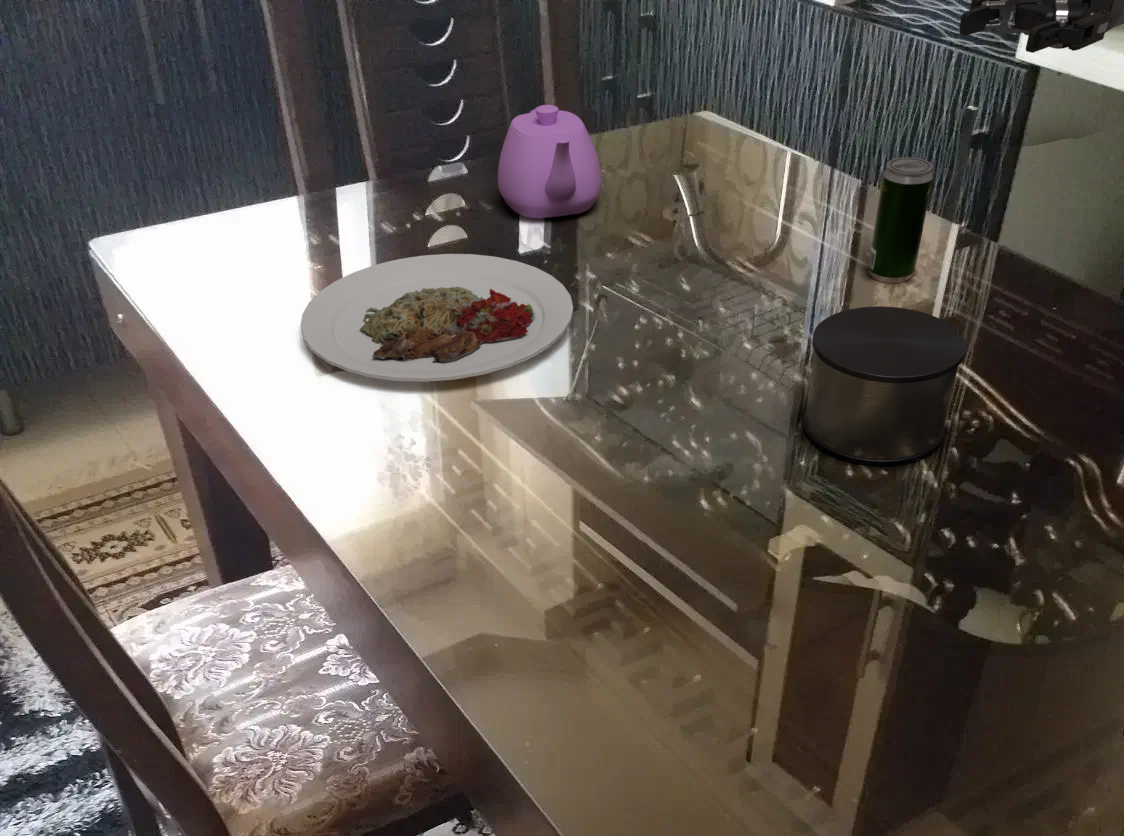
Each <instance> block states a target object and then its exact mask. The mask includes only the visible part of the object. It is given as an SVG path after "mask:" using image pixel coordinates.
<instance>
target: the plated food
mask: <svg viewBox="0 0 1124 836" xmlns="http://www.w3.org/2000/svg"><path fill="white" fill-rule="evenodd" d="M573 314H574V306H573V301H572V296H571V294H570V293H569V291H568V290H567V288H566V287H565V286H564V284H563V283H562V282H560V281H559V280H558V279H557V278H555V277H554V276H553V275H551V274H550V273H547V272H546V271H543V270H542V269H540V268H538V267H535V266H533V265H530V264H527V263H524V262H520V261H517V260H513V259H510V258H509V259H508V258H504V257H500V256H499V257H498V256H493V255H492V256H491V255H483V254H473V253H465V254H464V253H442V254H426V255H424V254H423V255H418V256H417V255H416V256H411V257H404V258H398V259H394V260H390V261H385V262H382V263H377V264H374V265H371V266H367V267H365V268H362V269H359V270H355V271H354V272H352V273H349V274H347V275H345V276H343V277H341V278H339V279H337V280H335V281H333V282H332V283H330V284H329V285H327V286H326V287H325V288H323V289H321V290H320V291H319V292H318V293H317V294H316V295H315V296H314V297H313V298H312V299H310V300H309V302H308V303H307V306H306V307H305V308H304V310H303V312H302V315H301V320H300V330H301V334H302V337H303V341H304V343H305V344H306V345H307V347H308V349H310V351H311V352H312V353H313V354H314V355H315V356H317V357H319V358H320V359H321V360H323V361H324V362H325V363H327V364H329V365H330V366H335V367H336V368H339V369H341V370H343V371H346V372H348V373H352V374H357V375H359V376H364V377H367V378H373V379H379V380H380V379H381V380H386V381H396V382H422V383H423V382H425V383H426V382H441V381H452V380H453V381H455V380H458V379H460V380H461V379H467V378H472V377H476V376H483V375H487V374H491V373H494V372H497V371H501V370H504V369H508V368H511V367H514V366H516V365H518V364H521V363H523V362H525V361H528V360H530V359H532V358H534V357H535V356H538V355H539V354H541V353H542V352H544V351H545V350H548V349H549V348H550V347H552V346H553V345H554V344H555V343H556V342H557V341H559V340H560V339H561V337H563V336H564V334H565V332H566V331H567V329H568V328H569V326H570V325H571V323H572V319H573Z"/></svg>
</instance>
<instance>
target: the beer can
mask: <svg viewBox="0 0 1124 836" xmlns="http://www.w3.org/2000/svg"><path fill="white" fill-rule="evenodd" d="M933 179H934V174H933V164H932V162H930V161H928V160H926V159H923V158H919V157H908V156H907V157H897V158H893V159H891V160H889V161H887V162H886V168H885V169H884V171H883V174H882V180H881V185H880V193H879V197H878V203H877V210H876V216H875V221H874V228H873V235H872V241H871V247H870V253H869V258H868V264H867V265H868V266H867V269H868V274H869V275H870V277H871V278H872V279H874V280H875V281H878V282H881V283H885V284H900V283H905V282H906V281H909V280H910V279H911V278H912V277H913V275H914V273H915V272H916V267H917V261H918V258H919V257H918V256H919V251H920V246H921V241H922V237H923V231H924V225H925V220H926V216H927V210H928V205H929V199H930V194H931V189H932V184H933Z"/></svg>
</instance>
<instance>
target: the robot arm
mask: <svg viewBox="0 0 1124 836" xmlns="http://www.w3.org/2000/svg"><path fill="white" fill-rule="evenodd" d="M1011 13H1013V24H1008V23H1009V20H1010V15H1011ZM1122 25H1124V0H971V2H970V8H969V10H966V11H964V12H963V13H962V14H961V18H960V23H959V27H958V30H959V35H960V36H965V37H967V36H970V35H973V34H976V33H980V32H982V31H985V30H997V31H998V32H999V33H1000V35H1001V34H1002V35H1006V34H1007V35H1009V34H1010V35H1011V34H1024V35H1025V36H1027V40H1026V45H1025V51H1026V52H1027V53H1036V52H1039V51H1042V50H1045V49H1048V48H1050V49H1056V50H1061V49H1062V50H1063V49H1066V48H1067V49H1068V50H1070V51H1071V52H1072V51H1073V52H1074V51H1079V50H1082V49H1084V48H1086V47H1089V46H1091V45H1093V44H1095V43H1096V44H1097V43H1098V42H1100V41H1102V40H1104V37H1105V34H1106V33H1108V32H1109V31H1111V30H1113V29H1114V28H1117V27H1119V26H1122Z"/></svg>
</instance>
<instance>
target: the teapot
mask: <svg viewBox="0 0 1124 836" xmlns="http://www.w3.org/2000/svg"><path fill="white" fill-rule="evenodd" d="M598 157H599V156H598V154H597V150H596V148H595V145H594V143H593V140H592V139H591V136H590V134H589V132H588V130H587V127H586V125H585V124H584V122H583V120H582V119H581V118H580V117H579V116H578V115H577V114H575V113H573V112H571V111H566V110H559V107H558V106H556V105H553V104H542V105H539V106H536V107H535V108H534V109H532V110H530V111H529V112H527V113H522V114H519V115H516V116H515V117H513V119H512V120H511V122H510V125H509V127H508V130H507V133H506V136H505V139H504V142H503V144H502V148H501V151H500V156H499V161H498V166H497V167H498V168H497V188H498V190H499V193H500V195H501V196H502V198H503V200H504V202H506V204H507V205H508V207H509V208H510V209H511V210H512V211H514V212H515V213H517V214H518V215H520V216H523V217H526V218H527V219H530V220H537V219H538V220H539V219H542V218H556V217H563V216H570V215H578V214H582V213H584V212H586V211H589V210H590V209H591V208H593V206H594V204H595V203H596V201H597V199H598V197H599V195H600V193H601V189H602V171H601V166H600V161H599V158H598Z"/></svg>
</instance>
